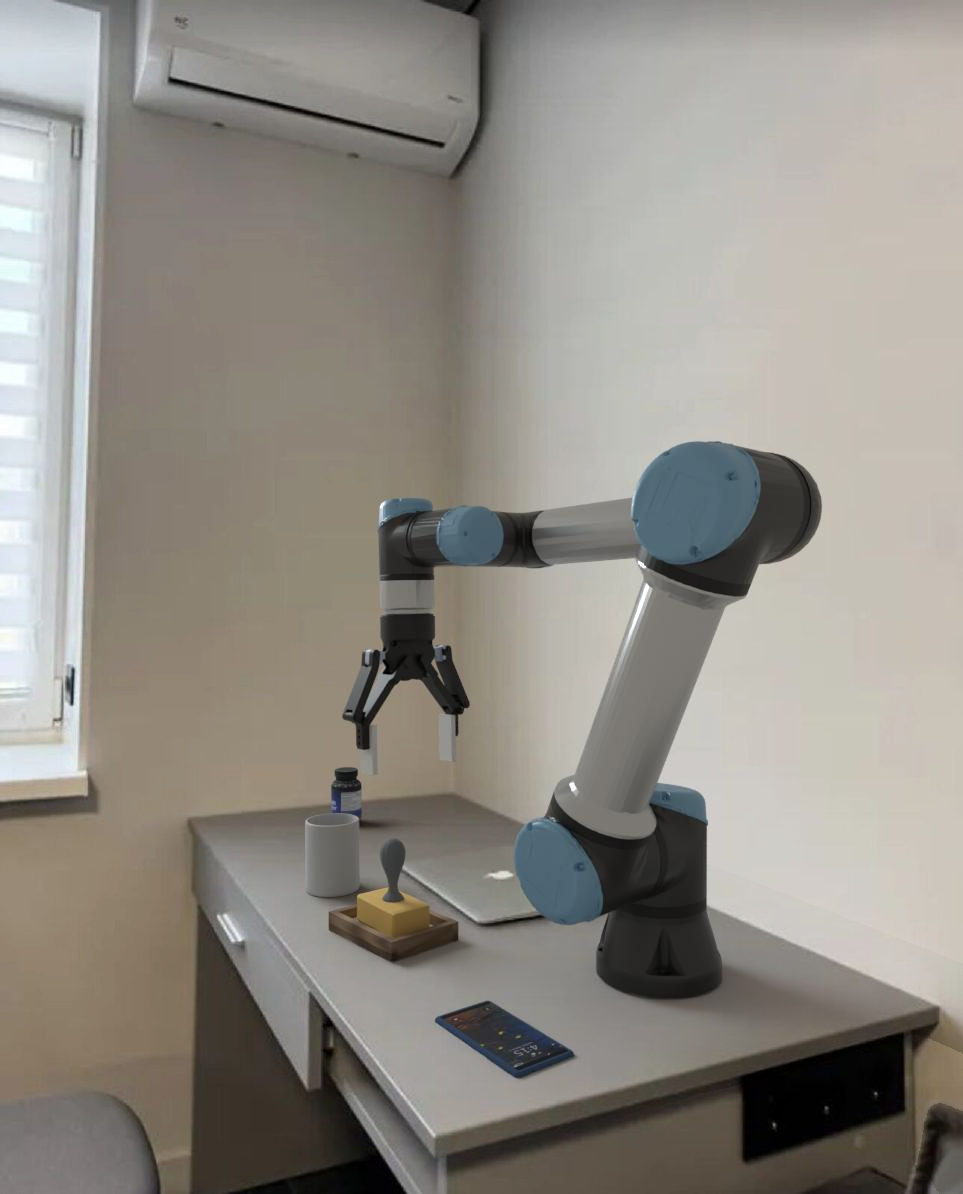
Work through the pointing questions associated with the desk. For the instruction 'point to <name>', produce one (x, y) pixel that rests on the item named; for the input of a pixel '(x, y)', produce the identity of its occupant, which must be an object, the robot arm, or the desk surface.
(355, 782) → the pill bottle
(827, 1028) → the desk surface
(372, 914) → the rubber stamp
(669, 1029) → the desk surface
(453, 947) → the desk surface
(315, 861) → the mug
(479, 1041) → the smartphone
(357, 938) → the tray
